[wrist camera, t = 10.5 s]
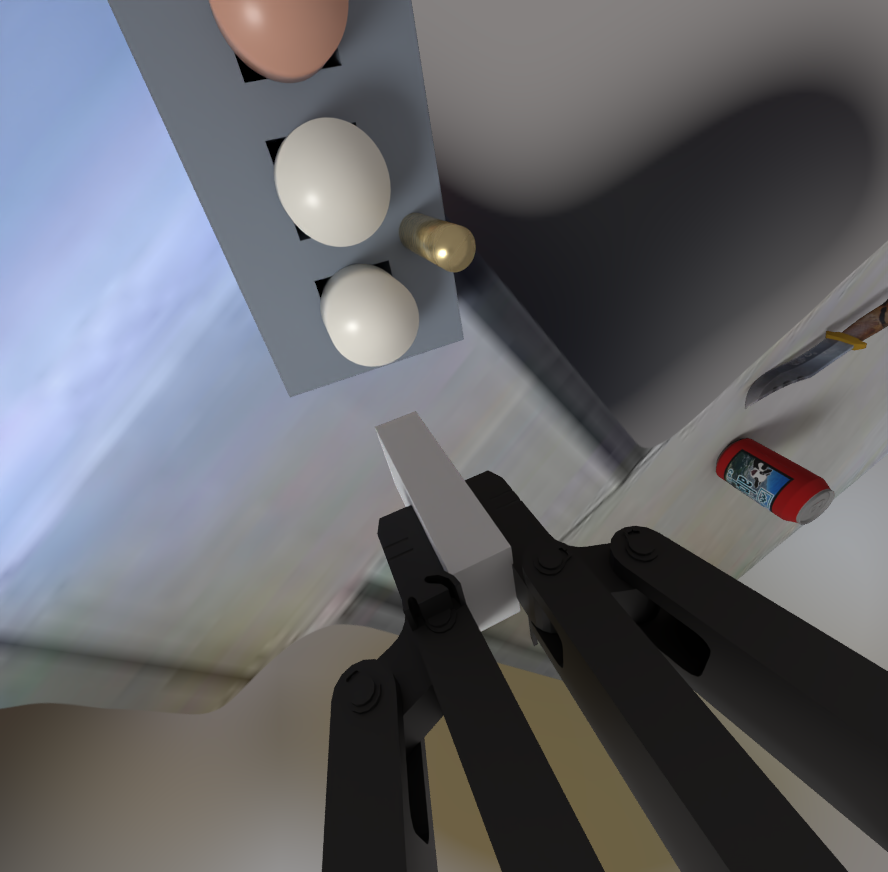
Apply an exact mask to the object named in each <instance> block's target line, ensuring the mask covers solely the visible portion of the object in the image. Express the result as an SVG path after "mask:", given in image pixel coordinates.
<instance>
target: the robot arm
mask: <svg viewBox="0 0 888 872" xmlns="http://www.w3.org/2000/svg"><path fill="white" fill-rule="evenodd" d="M375 429H376V432H377V435H378V437H379V440H380V443H381V446H382V449H383V452H384V454H385V457H386V460H387V463H388V466H389V468H390V471H391V474H392V477H393V480H394V483H395V485H396V487H397V489H398V491H399V493H400V496H401V498H402V500H403V502H404V504H405V506H406V507H405V508H403V509H400V510H398V511H396V512H393V513H391V514H389V515H387V516H384V517H382V518H380V519H379V526H378V533H377V534H378V537H379V540H380V542H381V545H382V548H383V550H384V553H385V556H386V559H387V561H388V564H389V567H390V569H391V572H392V575H393V577H394V580H395V583H396V585H397V588H398V591H399V594H400V596H401V599H402V604H403V612H404V614H405V623H404V626H403V630H402V631H401V633H400V635H399V637H398V639H397V640H396V641H395V642H394V643H393V644H392V646H391V647H390V648H389V649H387V650H386V651H385V652H384V653H383V654H382V655H381V656H380V657H379V658H378V659H377V660H376V659H371V660H362V661H360V662H358V663H356V664H354V665H352V666H351V667H350V668H348V669H347V670H346V671H345V672H344V673H343V674H342V675H341V677H340V679H339V680H338V682H337V684H336V686H335V688H334V692H333V697H332V701H331V718H330V735H329V753H328V771H327V789H326V807H325V825H324V843H323V861H322V872H438V870H437V860H436V850H435V840H434V830H433V820H432V810H431V800H430V791H429V781H428V771H427V760H426V750H425V740H424V737H425V736H426V735H427V733H428V732H429V731H430V730H431V729H432V728H433V726H435V724H436V723H437V722H438V721H439V720H440V718H442V716H443V715H444V717H445V720H446V723H447V725H448V728H449V731H450V733H451V736H452V739H453V742H454V744H455V747H456V749H457V752H458V755H459V758H460V760H461V763H462V766H463V768H464V771H465V774H466V776H467V779H468V782H469V784H470V787H471V790H472V792H473V795H474V798H475V801H476V803H477V806H478V809H479V811H480V814H481V817H482V819H483V822H484V825H485V827H486V830H487V833H488V835H489V838H490V841H491V843H492V846H493V849H494V852H495V854H496V857H497V860H498V862H499V865H500V868H501V870H502V872H605V871H604V869H603V867H602V865H601V863H600V861H599V860H598V858H597V856H596V854H595V852H594V850H593V848H592V846H591V844H590V842H589V840H588V838H587V836H586V834H585V832H584V831H583V829H582V827H581V825H580V823H579V821H578V819H577V817H576V815H575V813H574V811H573V809H572V807H571V805H570V804H569V802H568V800H567V798H566V796H565V794H564V792H563V790H562V788H561V786H560V784H559V782H558V780H557V778H556V776H555V774H554V772H553V771H552V769H551V767H550V765H549V763H548V761H547V759H546V757H545V755H544V753H543V751H542V749H541V747H540V745H539V743H538V742H537V740H536V738H535V736H534V734H533V732H532V730H531V728H530V726H529V724H528V722H527V720H526V718H525V716H524V714H523V712H522V711H521V709H520V707H519V705H518V703H517V701H516V699H515V697H514V695H513V693H512V691H511V689H510V687H509V685H508V683H507V682H506V680H505V678H504V676H503V674H502V672H501V670H500V668H499V666H498V664H497V662H496V660H495V658H494V656H493V654H492V652H491V651H490V649H489V647H488V645H487V643H486V641H485V639H484V637H483V635H482V633H481V631H483V630H485V629H487V628H489V627H491V626H493V625H495V624H497V623H498V622H500V621H502V620H504V619H506V618H508V617H510V616H512V615H514V614H516V613H518V612H520V607H519V602H520V604H521V605H522V607H523V609H524V610H525V612H526V613H527V615H528V619H529V627H530V635H531V639H532V642H533V645H534V646H535V645H537V644H538V642H537V640H538V641H539V643H540V645H541V646H542V648H543V649H544V651H545V653H546V654H547V656H548V658H549V659H550V661H551V662H552V664H553V666H554V667H555V669H556V670H557V672H558V674H559V675H560V677H561V679H562V680H563V682H564V683H565V685H566V687H567V688H568V690H569V691H570V693H571V695H572V696H573V698H574V700H575V701H576V703H577V704H578V706H579V708H580V709H581V711H582V712H583V714H584V716H585V717H586V719H587V721H588V722H589V723H590V725H591V727H592V728H593V730H594V732H595V733H596V735H597V737H598V738H599V740H600V741H601V743H602V745H603V746H604V748H605V750H606V751H607V753H608V754H609V756H610V758H611V759H612V761H613V762H614V764H615V766H616V767H617V769H618V771H619V772H620V774H621V775H622V777H623V779H624V780H625V782H626V783H627V785H628V787H629V788H630V790H631V792H632V793H633V795H634V796H635V798H636V800H637V801H638V803H639V805H640V806H641V808H642V809H643V811H644V813H645V814H646V816H647V817H648V819H649V821H650V822H651V824H652V825H653V827H654V829H655V830H656V832H657V834H658V835H659V837H660V838H661V840H662V841H663V843H664V845H665V847H666V848H667V849H668V851H669V853H670V855H671V856H672V858H673V859H674V861H675V863H676V864H677V866H678V867H679V869H680V871H681V872H848V871H847V870H846V869H845V867H844V866H843V865H842V864H841V863H840V862H839V860H838V859H837V858H836V857H835V856H834V855H833V853H832V852H831V851H830V850H829V849H828V848H827V846H826V845H825V844H824V843H823V842H822V840H821V839H820V838H819V837H818V836H817V835H816V833H815V832H814V831H813V830H812V829H811V828H810V826H809V825H808V824H807V823H806V822H805V821H804V819H803V818H802V817H801V816H800V815H799V814H798V812H797V811H796V810H795V809H794V808H793V807H792V805H791V804H790V803H789V802H788V801H787V800H786V798H785V797H784V796H783V795H782V794H781V792H780V791H779V790H778V789H777V788H776V787H775V785H774V784H773V783H772V782H771V781H770V780H769V778H768V777H767V776H766V775H765V774H764V773H763V771H762V770H761V769H760V768H759V767H758V766H757V764H756V763H755V762H754V761H753V760H752V758H751V757H750V756H749V755H748V754H747V753H746V751H745V750H744V749H743V748H742V747H741V746H740V745H739V743H738V742H737V741H736V740H735V739H734V737H733V736H732V735H731V734H730V733H729V732H728V730H727V729H726V728H725V727H724V726H723V725H722V723H721V722H720V721H719V720H718V719H717V717H716V716H715V715H714V714H713V713H712V712H711V710H710V709H709V708H708V707H707V706H706V705H705V703H704V702H703V701H702V700H701V699H700V698H699V697H698V695H697V694H696V693H695V692H697V693H698V694H699V695H700V696H701V697H703V698H704V699H705V700H706V701H708V702H709V703H710V704H711V705H712V706H713V707H715V708H716V709H717V710H718V711H719V712H721V713H722V714H723V715H724V716H725V717H727V718H728V719H729V720H730V721H731V722H733V723H734V724H735V725H736V726H737V727H739V728H740V729H741V730H742V731H743V732H745V733H746V734H747V735H748V736H749V737H751V738H752V739H753V740H754V741H755V742H757V743H758V744H759V745H760V746H761V747H763V748H764V749H765V750H766V751H767V752H769V753H770V754H771V755H772V756H773V757H775V758H776V759H777V760H778V761H779V762H781V763H782V764H783V765H784V766H785V767H787V768H788V769H789V770H790V771H791V772H792V773H794V774H795V775H796V776H797V777H799V778H800V779H801V780H802V781H803V782H804V783H806V784H807V785H808V786H809V787H811V788H812V789H813V790H814V791H815V792H817V793H818V794H819V795H820V796H821V797H823V798H824V799H825V800H826V801H827V802H828V803H830V804H831V805H832V806H833V807H834V808H836V809H837V810H838V811H839V812H840V813H842V814H843V815H844V816H845V817H847V818H848V819H849V820H850V821H851V822H852V823H854V824H855V825H856V826H857V827H859V828H860V829H861V830H862V831H863V832H865V833H866V834H867V835H868V836H869V837H870V838H872V839H873V840H874V841H875V842H877V843H878V844H879V845H880V846H881V847H882V848H884V849H885V850H886V851H887V852H888V671H886V670H885V669H883V668H881V667H879V666H878V665H876V664H875V663H873V662H871V661H870V660H868V659H867V658H865V657H863V656H862V655H860V654H858V653H857V652H855V651H853V650H852V649H850V648H848V647H847V646H845V645H843V644H842V643H840V642H838V641H837V640H835V639H833V638H832V637H830V636H829V635H827V634H825V633H824V632H822V631H820V630H819V629H817V628H815V627H814V626H812V625H810V624H809V623H807V622H805V621H804V620H802V619H800V618H799V617H797V616H795V615H794V614H792V613H790V612H789V611H787V610H786V609H784V608H782V607H780V606H779V605H777V604H776V603H774V602H772V601H771V600H769V599H767V598H766V597H764V596H762V595H761V594H759V593H758V592H756V591H754V590H752V589H751V588H749V587H748V586H746V585H744V584H743V583H741V582H739V581H738V580H736V579H734V578H733V577H731V576H729V575H728V574H726V573H724V572H723V571H721V570H720V569H718V568H716V567H715V566H713V565H711V564H710V563H708V562H706V561H705V560H703V559H701V558H700V557H698V556H696V555H695V554H693V553H691V552H690V551H688V550H686V549H685V548H683V547H682V546H680V545H678V544H677V543H675V542H673V541H672V540H670V539H668V538H667V537H665V536H663V535H662V534H660V533H658V532H656V531H654V530H652V529H649V528H647V527H640V526H631V527H624V528H623V529H621V530H619V531H617V532H616V533H615V534H614V536H613V537H612V539H611V543H608V544H601V545H595V546H588V547H574V546H569V545H567V544H565V543H562V542H559V541H557V540H555V539H554V538H553V537H552V536H551V535H550V534H549V533H548V532H547V531H546V530H545V528H544V527H543V526H542V525H541V524H540V522H539V521H538V520H537V519H536V518H535V516H534V515H533V514H532V513H531V512H530V510H529V509H528V508H527V507H526V506H525V504H524V503H523V502H522V501H520V498H519V497H518V496H517V495H516V493H515V492H514V491H512V489H511V487H510V486H509V485H508V484H507V483H506V481H505V480H504V479H503V478H502V477H500V476H498V475H496V474H494V473H492V472H490V471H486V472H483V473H481V474H479V475H476V476H474V477H472V478H469V479H467V480H465V481H464V479H463V478H462V476H461V475H460V473H459V472H458V471H457V469H456V468H455V466H454V465H453V463H452V462H451V461H450V459H449V458H448V456H447V455H446V454H445V452H444V451H443V449H442V448H441V446H440V445H439V444H438V442H437V441H436V439H435V438H434V437H433V435H432V434H431V432H430V431H429V429H428V428H427V427H426V425H425V424H424V422H423V421H422V419H421V418H420V417H419V415H418V414H417V412H416V411H415V412H412V413H410V414H407V415H405V416H402V417H399V418H397V419H394V420H392V421H389V422H387V423H384V424H381V425H379V426H376V427H375ZM693 690H694V691H695V692H694V691H693Z"/></svg>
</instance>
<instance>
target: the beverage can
mask: <svg viewBox="0 0 888 872" xmlns="http://www.w3.org/2000/svg"><path fill="white" fill-rule="evenodd" d="M716 473H717V475H718V476H719V477H720V478H722V479H723V480H725V481H726V482H728V483H729V484H731V485H732V486H733V487H735V488H736V489H738V490H739V491H741V492H742V493H744V494H745V495H747V496H748V497H750V498H751V499H753V500H754V501H756V502H757V503H759V504H760V505H762V506H763V507H765V508H766V509H768V510H769V511H771V512H772V513H774V514H775V515H777V516H778V517H780V518H782V519H783V520H786V521H791V522H796V523H799V524H801V525H805V524H807V523H810V522H812V521H813V520H815V519H816V518H817V517H819V516H820V515H821V514H822V513H823V512H824V511H825V510H826V509H827V508H828V506H829V505H830V504H831V502H832V501H833V499H834V496H835V493H834V491H832V490H831V489H830V488H829V486H828V485H827V483H826V482H825V480H824V479H823V478H821V477H819V476H817V475H816V474H814V473H812V472H810V471H809V470H807V469H805V468H803V467H801V466H800V465H798V464H796V463H794V462H792V461H791V460H789V459H787V458H785V457H783V456H781V455H780V454H778V453H776V452H774V451H772V450H771V449H769V448H767V447H765V446H763V445H761V444H759V443H757V442H756V441H754V440H752V439H749V438H746V439H742V440H739V441H736V442H734V443H732V444H730V445H729V446H728V447H726V448H725V449H724V450H723V452H722V453H721V454H720V456H719V458H718V460H717V466H716Z"/></svg>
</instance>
